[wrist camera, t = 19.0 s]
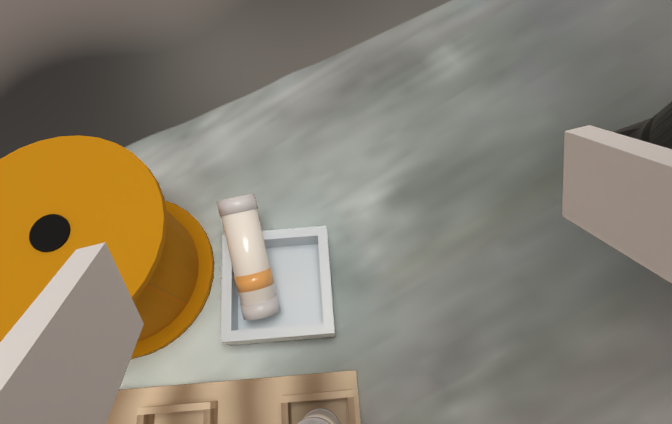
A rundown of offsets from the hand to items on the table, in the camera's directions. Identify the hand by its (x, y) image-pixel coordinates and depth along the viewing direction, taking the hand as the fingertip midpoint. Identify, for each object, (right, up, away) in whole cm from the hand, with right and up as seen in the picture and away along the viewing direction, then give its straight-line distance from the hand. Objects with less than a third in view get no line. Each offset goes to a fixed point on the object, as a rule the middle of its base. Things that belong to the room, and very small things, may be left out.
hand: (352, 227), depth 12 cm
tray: (-6, -8, +35) cm, 37 cm away
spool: (-23, -7, +36) cm, 44 cm away
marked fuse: (-8, -10, +32) cm, 34 cm away
